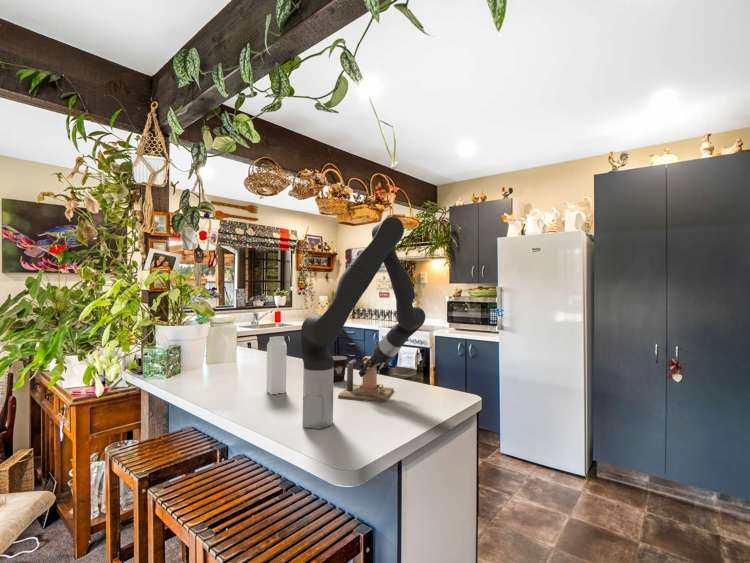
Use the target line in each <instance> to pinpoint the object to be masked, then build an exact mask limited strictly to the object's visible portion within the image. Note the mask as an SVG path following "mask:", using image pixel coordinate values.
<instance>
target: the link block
mask: <svg viewBox="0 0 750 563" xmlns="http://www.w3.org/2000/svg"><path fill="white" fill-rule="evenodd" d="M371 357H372V355H369V356H367V355H366V356H364V357H362V361H363V360H364V358H367V359H370V358H371ZM370 365H371V363H370ZM371 366H372V365H371ZM367 368H368V367H367ZM377 373H378V372H377V366H375V367H374V368H373V369H370V370H368V371H367V372H366V374H365V375H364V376H363V377H362V383H363V388H362V389H372V390H374V389H375V388H376V387H377V384H378V382H377V381H378V379H377V376H378V375H377Z"/></svg>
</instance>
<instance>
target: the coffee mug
mask: <svg viewBox="0 0 750 563" xmlns="http://www.w3.org/2000/svg"><path fill="white" fill-rule="evenodd" d="M331 356H332V355H331ZM332 357H333V359H334V381H333V383H341V382H342V383H343V382H344V381H345V376H346V370H347V359H348V357H346V356H343V355H341V356H340V355H336V356H335V355H334V356H332Z"/></svg>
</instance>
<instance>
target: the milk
mask: <svg viewBox="0 0 750 563" xmlns="http://www.w3.org/2000/svg"><path fill="white" fill-rule="evenodd" d="M287 348H288V345H287V343H286V340H285V336H284V335H281V336H269V341H268V342H267V344H266V382H265V383H266V384H265V386H266V388H265V390H266V391H267V392H266V393H268V392H269V393H270V394H269V393H268V394H269V395H270V396H273V395H272V394H276V395H279V394H278V393H282V394H286V393H287V357H288V356H287V353H288V350H287ZM285 392H286V393H285Z"/></svg>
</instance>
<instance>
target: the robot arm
mask: <svg viewBox="0 0 750 563" xmlns="http://www.w3.org/2000/svg"><path fill="white" fill-rule="evenodd" d="M404 232H405V226H404V223H403V221H402V220H401V219H400V218H398V217H395V216H387V217H385V218H383V219H381V221H379V222H378V223H376V224H374V226H373V228H372V230H371V236H372V239H371V241H370V242H369V244H368V245H366V247H365V248H364V249H362V251H361V252H359V253H358V254H357V256H356V257H355V258H354V259H352V260H351V262H350V263H349V264H348V265H347V267H346V268H345V270H344V271H343V273H342V274H341V276H340V277H339V280H338V282H337V286H336V293H335V296H334V298H333V300H332V302H331V303H330V305H329V306H328V307H327V309H326V310H325V312H323V313H322V315H320V314H311V315H309V316H307V317H306V318H304V320H303V322H302V325H301V328H300V356H301V359H302V363H303V381H302V382H303V383H302V386H303V387H302V389H303V392H302V394H303V396H302V428H307V429H317V430H322V429H323V428H324V429H325V428H328V427H330V426H332V425H333V424H334V382H333V381H334V359H333V357H332V355H331V353H330V350H329V346H331V345H332V344H334V342H336V340H337V339H338V338H339V336H340V335H341V333H342V330H343V328H344V326H345V325H346V322H347V320H348V319H349V317H350V316H351V313H352V311H353V310H354V308H355V307H356V306H357V304H358V302H359V301H360V299H361V298H362V296H363V295H364V293H365V292H366V290H367V289H368V287H369V286H370V285H371V283H372V282H373V280H374V278H375V276H376V275H377V274H378V272H379V270H380V269H381V266H382V265H383V264H384V267H385V269H386V272H387V274H388V277H389V280H390V284H391V287H392V291H393V294H394V297H395V300H396V302H395V303H396V305H395V306H396V307H395V308H396V318H397V322H398V323H396V324H394V325H393V326H392V327H391V328H390V330H388V332H387V333H386V334H385V335H384V336H383V337H382V339H380V341H379V342H378V343H377V344H376V346H375V347H374V350H373V355H371V358H370V359H367V358H364V357H363V358H364V360H363V359H362V361H361V363H360V364H359V365H358V366H359V369H360V370H359V371H358V375H359V377H360V378H363V376H364V375H365V374H366V372H367V371H368V370H370V369H373V368H374V367H375V366H377V373H378V372H379V371H380V370H381V369H383V368H386V367H387V366H388V365H389V364H390V363H391V362H392V361H393V360H394V357H396V355H397V354H398V352H400V350H401V348H402V347H403V346H404V345H405V343H406V342H407V341H408V339H409V338H410V337H411V336H413V334H415V333H416V332H417V331H418V330H419V329H420V328H421V327H422V326H423V325H424V323H425V320H426V313H425V311H424V309H423V308H421V307H418V306H417V307H416V306H415V307H413V302H414V300H415V299H416V292H415V289H414V288H415V287H414V286H413V281H412V278H411V277H410V274H409V272H408V271H407V269H406V268H405V267H404V265H403V263H402V262H401V261H400V259H399V256H398V254H397V252H396V245H397V244H398V243H399V242H400V241H401V240H402V238H403V237H404ZM370 363H371V365H372V366H371V365H370ZM367 367H368V368H367Z"/></svg>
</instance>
